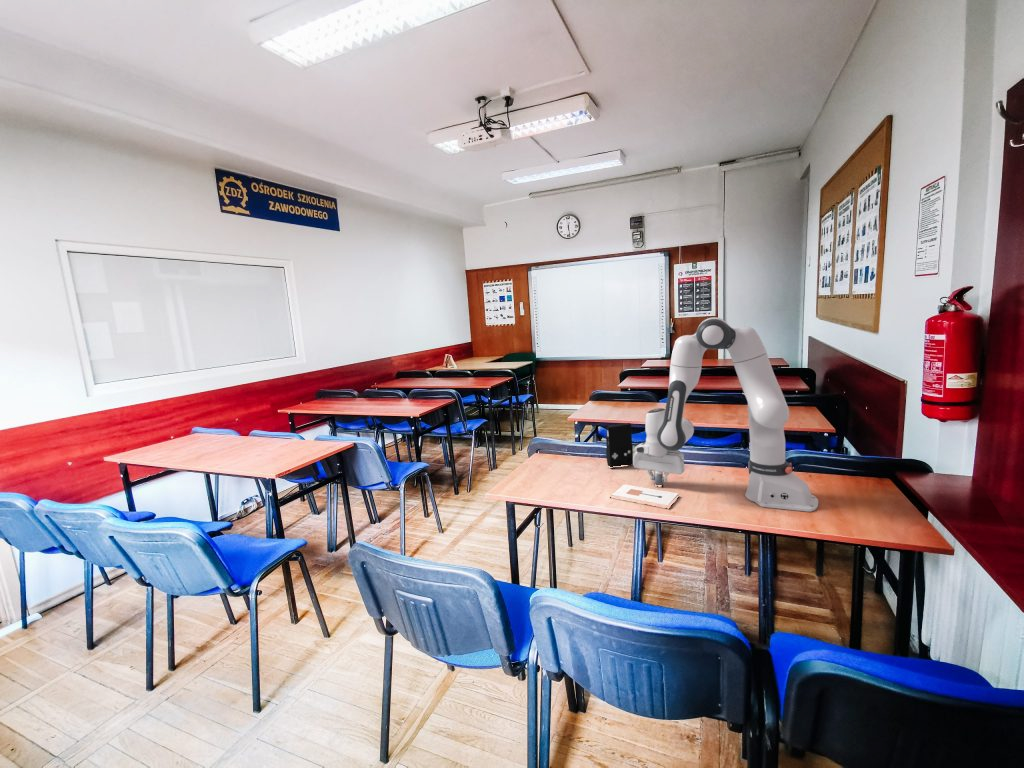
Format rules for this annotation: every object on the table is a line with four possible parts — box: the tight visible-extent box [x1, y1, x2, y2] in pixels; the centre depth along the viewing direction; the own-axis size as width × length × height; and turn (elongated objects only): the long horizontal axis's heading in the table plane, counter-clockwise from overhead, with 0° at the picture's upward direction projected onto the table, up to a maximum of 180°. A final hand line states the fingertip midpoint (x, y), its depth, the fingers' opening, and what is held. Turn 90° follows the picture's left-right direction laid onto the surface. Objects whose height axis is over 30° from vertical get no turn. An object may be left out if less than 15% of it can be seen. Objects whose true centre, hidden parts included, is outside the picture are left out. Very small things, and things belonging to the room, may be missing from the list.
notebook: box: [611, 483, 679, 506], centre depth 171 cm, size 23×13×1 cm, turn 52°
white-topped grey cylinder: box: [653, 471, 664, 486], centre depth 180 cm, size 3×3×7 cm
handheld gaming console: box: [605, 422, 634, 467], centre depth 207 cm, size 12×5×20 cm, turn 105°
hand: (658, 480), depth 181 cm, fingers closed on white-topped grey cylinder, 3 cm apart
